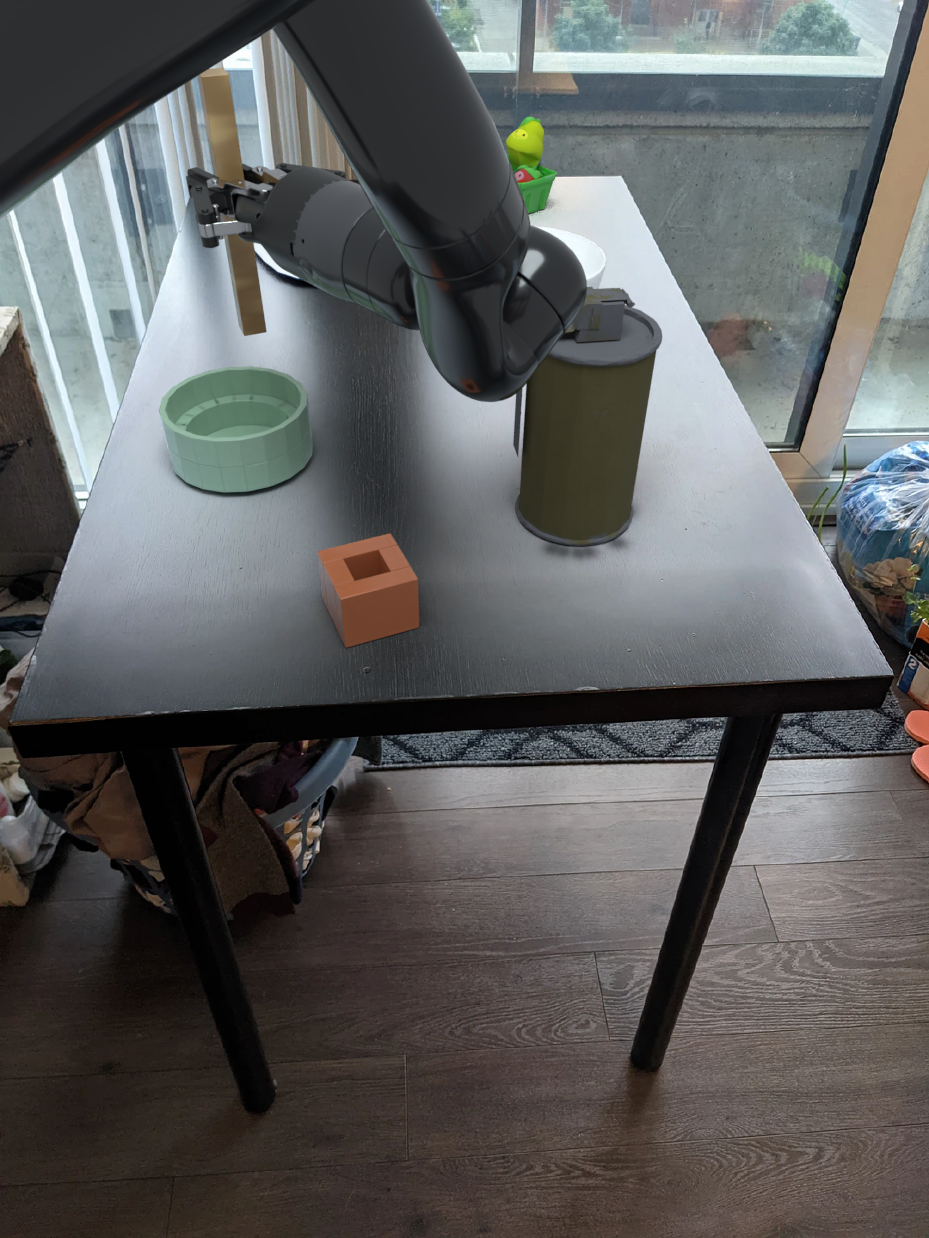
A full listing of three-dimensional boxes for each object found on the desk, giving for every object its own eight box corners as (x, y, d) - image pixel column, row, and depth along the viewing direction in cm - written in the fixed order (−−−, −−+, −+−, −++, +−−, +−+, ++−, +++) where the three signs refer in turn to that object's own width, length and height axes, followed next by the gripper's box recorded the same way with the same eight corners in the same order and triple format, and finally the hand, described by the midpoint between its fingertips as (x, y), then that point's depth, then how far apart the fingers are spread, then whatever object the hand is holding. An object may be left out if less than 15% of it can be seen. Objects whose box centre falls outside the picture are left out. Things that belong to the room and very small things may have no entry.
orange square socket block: (345, 648, 72) (340, 599, 68) (322, 599, 76) (316, 550, 72) (419, 627, 73) (418, 578, 70) (393, 581, 77) (390, 532, 74)
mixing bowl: (187, 511, 84) (174, 453, 80) (161, 436, 93) (148, 381, 89) (330, 479, 88) (324, 422, 84) (292, 410, 97) (285, 356, 93)
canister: (614, 473, 89) (644, 263, 76) (647, 541, 82) (687, 322, 68) (500, 482, 88) (510, 270, 74) (523, 552, 80) (539, 331, 67)
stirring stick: (244, 336, 82) (201, 76, 68) (238, 327, 83) (195, 70, 70) (266, 332, 82) (228, 74, 69) (261, 323, 84) (222, 67, 70)
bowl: (420, 301, 116) (419, 241, 111) (546, 273, 123) (550, 215, 118) (495, 365, 104) (497, 302, 99) (630, 330, 111) (638, 269, 106)
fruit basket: (467, 199, 142) (468, 117, 134) (511, 187, 146) (515, 106, 138) (518, 222, 135) (522, 136, 128) (563, 208, 140) (569, 124, 132)
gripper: (414, 160, 68) (275, 109, 77) (250, 208, 61) (118, 145, 70) (417, 264, 73) (286, 204, 82) (266, 319, 66) (141, 246, 75)
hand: (210, 177), depth 76 cm, fingers closed on stirring stick, 2 cm apart
